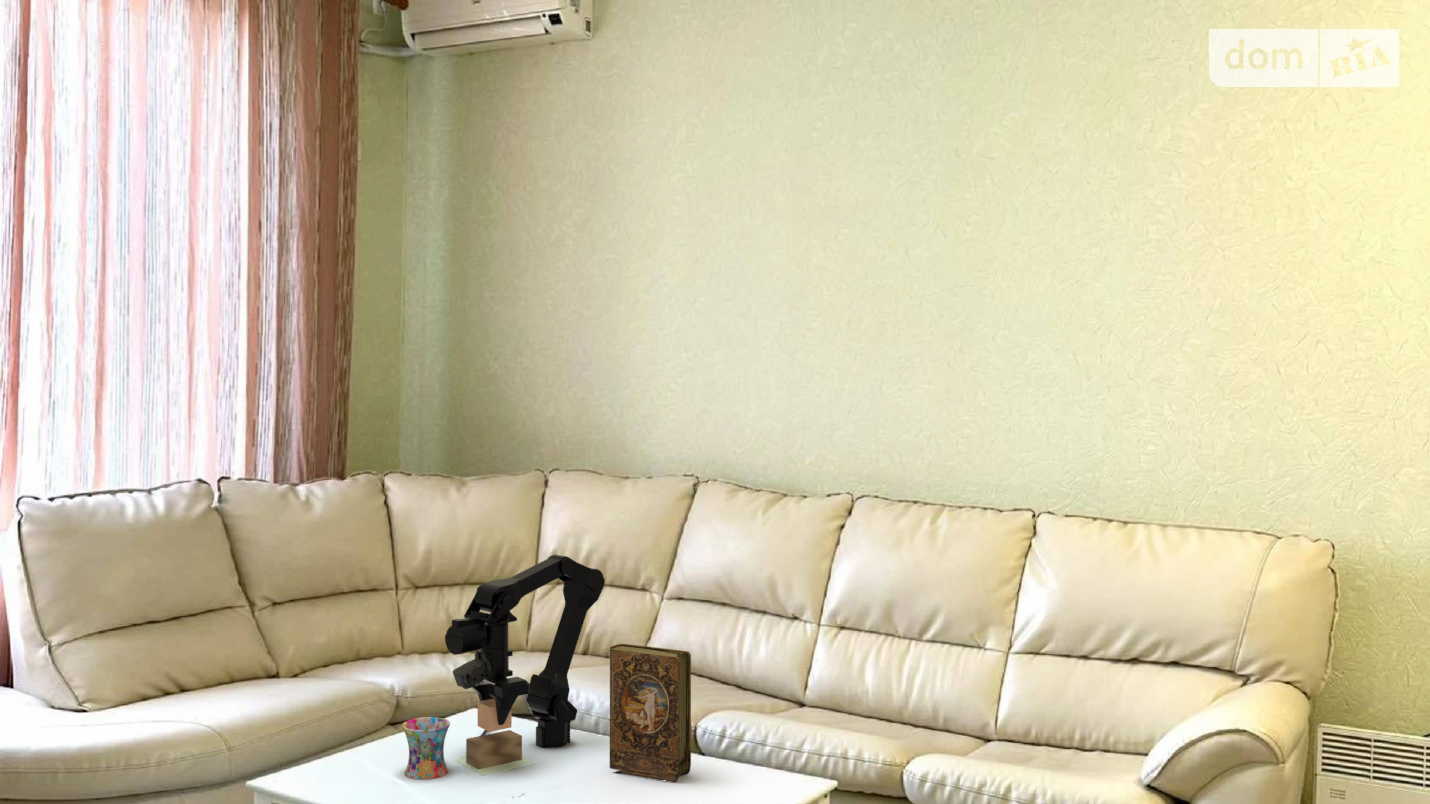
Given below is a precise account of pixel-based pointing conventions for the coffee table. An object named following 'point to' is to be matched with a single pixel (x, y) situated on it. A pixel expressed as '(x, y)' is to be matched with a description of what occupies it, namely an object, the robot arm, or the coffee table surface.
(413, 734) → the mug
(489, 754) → the walnut brick
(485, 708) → the cube
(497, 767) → the baseplate
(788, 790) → the coffee table surface
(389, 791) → the coffee table surface
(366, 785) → the coffee table surface
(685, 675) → the book
